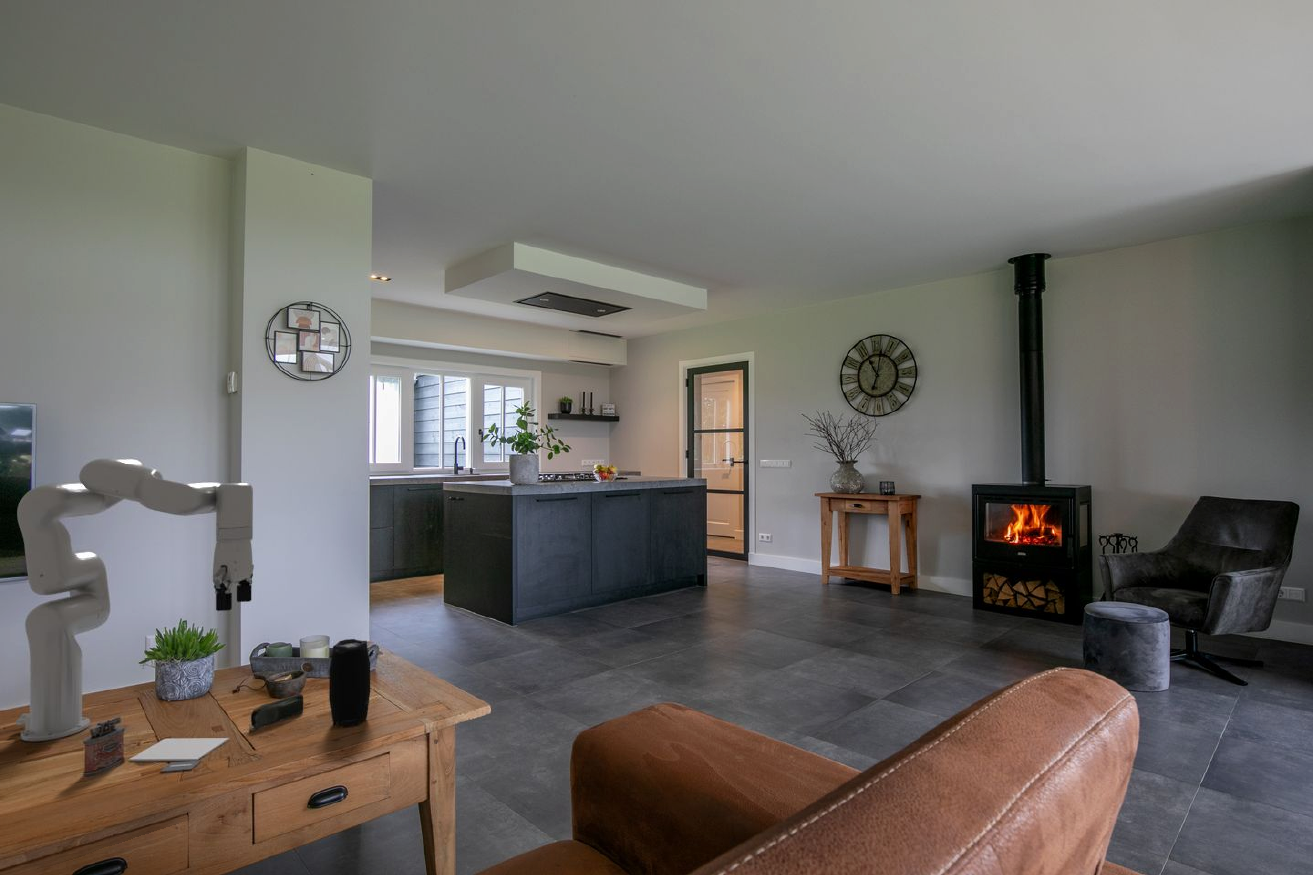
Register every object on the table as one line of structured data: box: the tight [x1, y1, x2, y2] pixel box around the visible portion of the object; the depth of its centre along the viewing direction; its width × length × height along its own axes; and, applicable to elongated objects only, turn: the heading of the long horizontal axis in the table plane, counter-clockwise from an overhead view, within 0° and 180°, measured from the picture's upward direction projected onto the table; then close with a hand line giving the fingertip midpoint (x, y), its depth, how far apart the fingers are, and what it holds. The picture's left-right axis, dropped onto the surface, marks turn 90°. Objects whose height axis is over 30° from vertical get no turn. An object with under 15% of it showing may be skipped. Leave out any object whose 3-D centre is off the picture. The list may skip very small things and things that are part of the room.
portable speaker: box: [328, 638, 371, 729], centre depth 171 cm, size 9×9×20 cm
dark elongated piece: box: [248, 694, 304, 733], centre depth 172 cm, size 5×3×15 cm
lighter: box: [82, 716, 126, 779], centre depth 146 cm, size 8×3×10 cm, turn 168°
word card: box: [159, 760, 202, 774], centre depth 147 cm, size 6×4×1 cm, turn 100°
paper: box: [128, 737, 230, 762], centre depth 155 cm, size 15×11×1 cm
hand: (234, 605), depth 165 cm, fingers open, 9 cm apart
